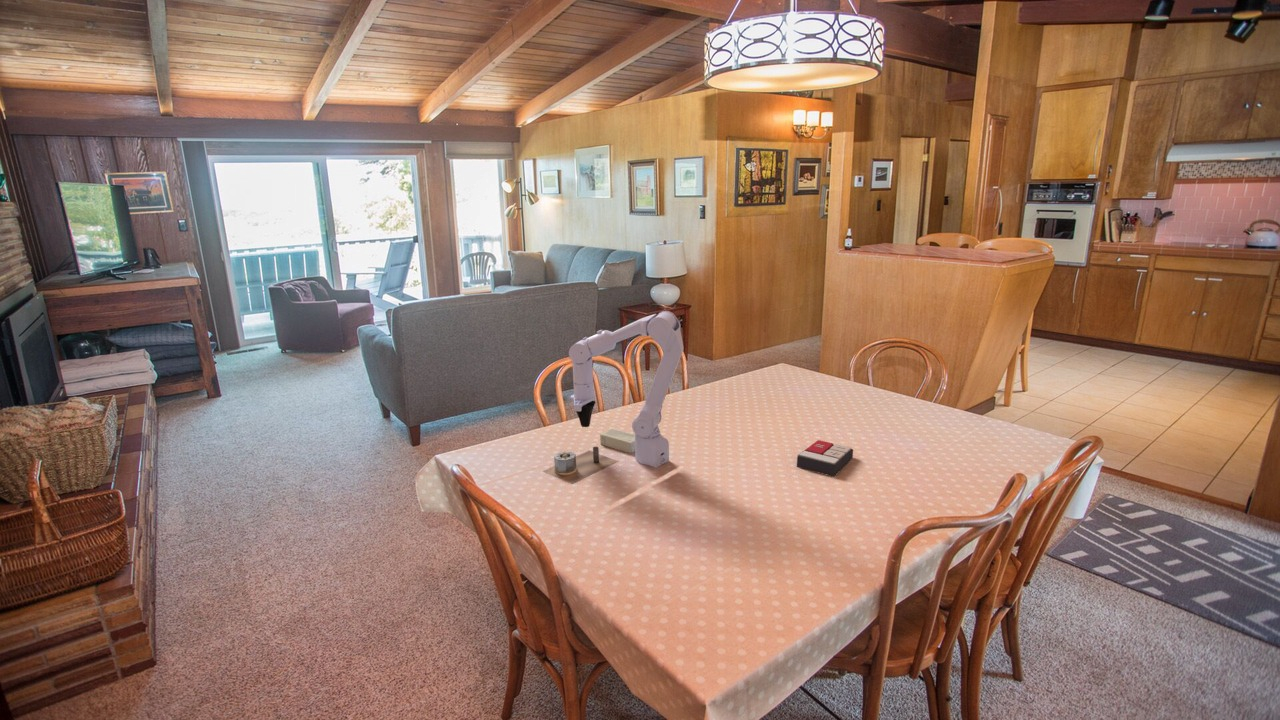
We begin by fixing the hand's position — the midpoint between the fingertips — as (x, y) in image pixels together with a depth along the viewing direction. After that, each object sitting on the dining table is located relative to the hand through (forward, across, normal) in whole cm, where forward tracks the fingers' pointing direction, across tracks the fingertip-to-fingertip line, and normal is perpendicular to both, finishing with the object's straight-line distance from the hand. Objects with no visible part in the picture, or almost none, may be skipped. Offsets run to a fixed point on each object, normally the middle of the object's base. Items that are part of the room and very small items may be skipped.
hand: (585, 426), depth 182 cm
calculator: (+10, -6, +69) cm, 70 cm away
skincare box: (+7, -10, +4) cm, 13 cm away
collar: (+8, +12, -3) cm, 15 cm away
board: (+9, +9, +1) cm, 13 cm away
